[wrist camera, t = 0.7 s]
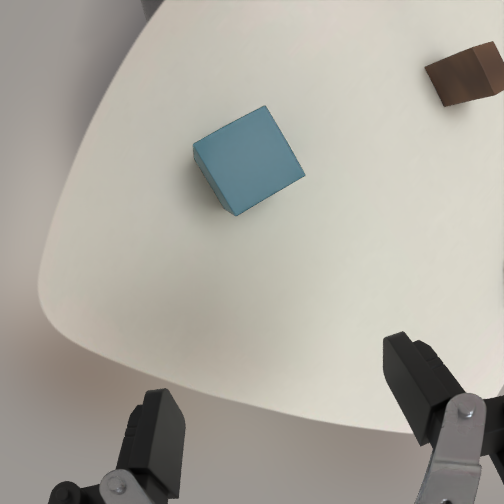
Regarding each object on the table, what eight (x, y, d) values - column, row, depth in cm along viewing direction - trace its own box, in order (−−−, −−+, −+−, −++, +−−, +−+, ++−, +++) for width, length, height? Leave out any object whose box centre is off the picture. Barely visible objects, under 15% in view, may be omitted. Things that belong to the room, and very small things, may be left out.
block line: (338, -53, 23) (366, -90, 15) (367, -56, 23) (396, -88, 15) (444, 107, 28) (494, 95, 21) (466, 95, 29) (513, 84, 21)
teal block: (193, 158, 26) (192, 144, 18) (245, 128, 26) (265, 105, 18) (224, 209, 27) (235, 216, 19) (275, 179, 27) (305, 175, 19)
